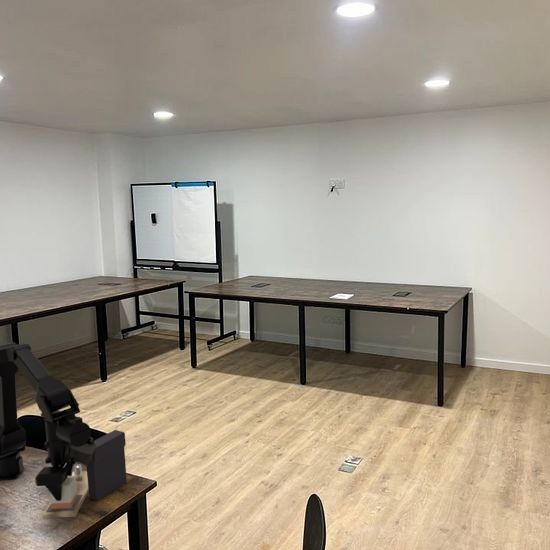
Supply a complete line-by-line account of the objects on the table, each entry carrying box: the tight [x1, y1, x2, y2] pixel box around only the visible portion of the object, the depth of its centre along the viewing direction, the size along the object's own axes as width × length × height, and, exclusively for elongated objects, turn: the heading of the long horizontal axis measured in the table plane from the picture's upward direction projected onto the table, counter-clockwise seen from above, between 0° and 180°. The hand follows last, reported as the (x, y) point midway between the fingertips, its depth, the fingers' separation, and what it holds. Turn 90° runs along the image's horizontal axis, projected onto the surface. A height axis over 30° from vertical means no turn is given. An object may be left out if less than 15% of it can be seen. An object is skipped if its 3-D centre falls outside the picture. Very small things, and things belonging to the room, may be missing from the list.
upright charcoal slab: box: [85, 429, 128, 501], centre depth 146 cm, size 11×4×15 cm, turn 151°
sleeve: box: [49, 476, 77, 509], centre depth 139 cm, size 5×5×6 cm
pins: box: [73, 463, 83, 481], centre depth 145 cm, size 2×14×4 cm, turn 3°
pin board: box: [42, 470, 89, 519], centre depth 145 cm, size 8×21×1 cm, turn 3°
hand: (63, 492), depth 139 cm, fingers open, 7 cm apart
